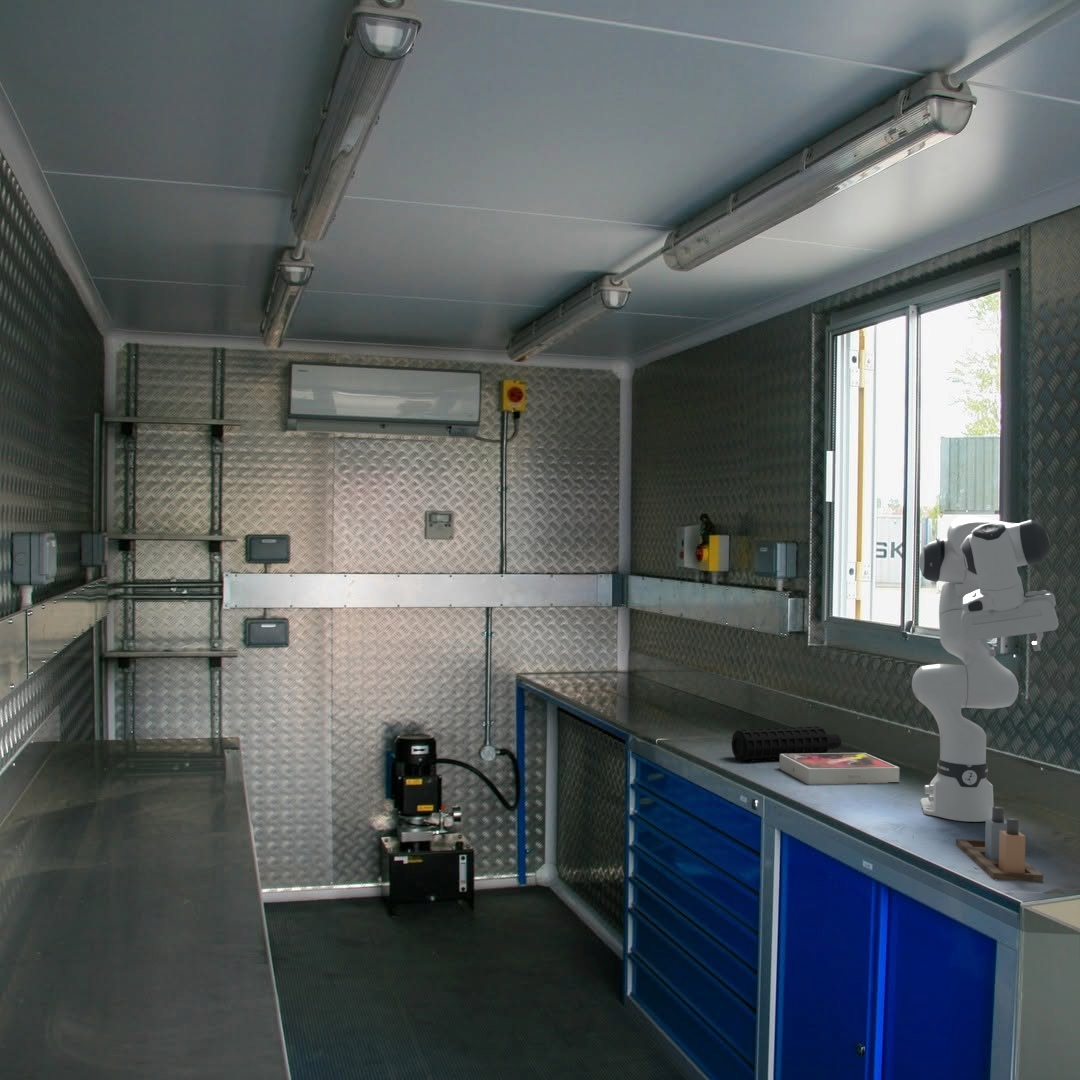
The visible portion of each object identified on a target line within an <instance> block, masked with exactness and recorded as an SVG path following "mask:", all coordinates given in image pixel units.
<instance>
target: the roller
mask: <svg viewBox="0 0 1080 1080" xmlns="http://www.w3.org/2000/svg"><path fill="white" fill-rule="evenodd" d="M841 746H842V737H841V736H840V735H839V734H836V733H827V732H826V730H825V729H824V727H821V726H804V727H803V726H802V727H801V726H800V727H799V726H798V727H797V726H796V727H780V728H779V727H775V728H773V727H772V728H755V729H754V728H753V729H737V730H736V731H735V732H734V733H733V734H732V738H731V750H732V754H733V756H734V758H735V760H736V761H738V762H740V763H744V762H745V763H747V762H762V761H763V762H764V761H765V762H767V761H778V760H779V761H780V754H813V753H829V752H828V751H829V750H834V749H838V748H840V747H841Z"/></svg>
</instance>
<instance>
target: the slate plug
mask: <svg viewBox="0 0 1080 1080" xmlns="http://www.w3.org/2000/svg"><path fill="white" fill-rule="evenodd" d="M1006 824H1007V819H1005V807H1002V806H994V807H992V819H986V821H985V825H984V826H985V828H984V829H985V830H984V831H985V832H984V836H985V837H984V838H985V839H984V840H985V858H987V859H988V860H999V831H1006Z"/></svg>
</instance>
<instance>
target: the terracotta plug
mask: <svg viewBox="0 0 1080 1080" xmlns="http://www.w3.org/2000/svg"><path fill="white" fill-rule="evenodd" d="M1006 821H1007V824H1006V831H999V870H1000V871H1001V872H1010V873H1025V861H1026V835H1024V834H1023V833H1021V832H1020V820H1019V818H1015V817H1007V818H1006Z"/></svg>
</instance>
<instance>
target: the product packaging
mask: <svg viewBox="0 0 1080 1080" xmlns="http://www.w3.org/2000/svg"><path fill="white" fill-rule="evenodd" d="M900 769H901V767H899V766H897V765H894V764H892V763H890V762H888V761H885V760H883V759H880V758H878V757H876V756H873V755H871V754H868V753H867V752H832V753H831V752H827V753H813V754H780V760H779V770H781V771H783V772H785V773H787V774H788V775H790V776H792V777H794V778H796V779H798V780H799V781H801V782H803V783H805V784H806V785H850V784H851V785H858V784H857V783H867V784H889V783H888V782H899V783H900Z"/></svg>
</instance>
